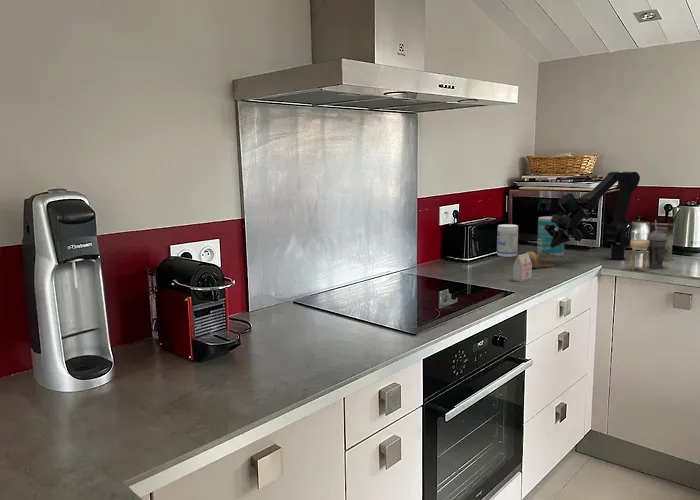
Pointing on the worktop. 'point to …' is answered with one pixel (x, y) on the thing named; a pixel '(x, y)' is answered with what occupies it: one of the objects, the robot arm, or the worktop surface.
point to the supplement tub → (507, 240)
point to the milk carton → (522, 268)
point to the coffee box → (668, 232)
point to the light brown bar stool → (639, 245)
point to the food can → (547, 238)
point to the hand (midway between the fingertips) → (551, 246)
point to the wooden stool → (535, 259)
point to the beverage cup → (656, 248)
